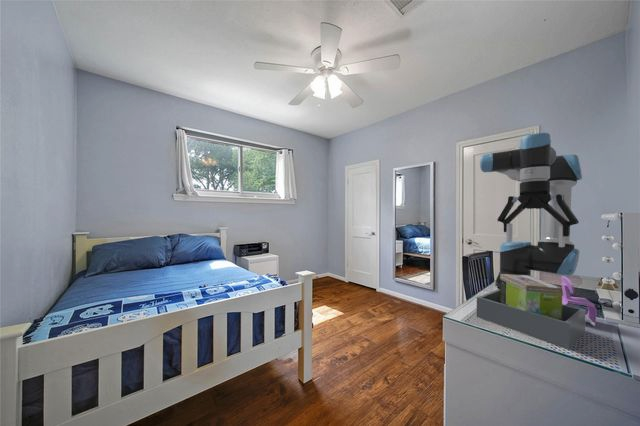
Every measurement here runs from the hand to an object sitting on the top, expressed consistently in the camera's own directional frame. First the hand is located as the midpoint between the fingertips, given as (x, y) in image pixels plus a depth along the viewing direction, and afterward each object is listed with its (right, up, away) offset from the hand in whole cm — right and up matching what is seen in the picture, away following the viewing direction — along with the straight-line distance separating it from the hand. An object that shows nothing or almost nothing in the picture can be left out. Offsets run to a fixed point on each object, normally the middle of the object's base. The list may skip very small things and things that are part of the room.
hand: (533, 244), depth 79 cm
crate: (-3, -27, -1) cm, 27 cm away
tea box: (-3, -27, -1) cm, 27 cm away
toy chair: (+17, -27, +3) cm, 32 cm away
